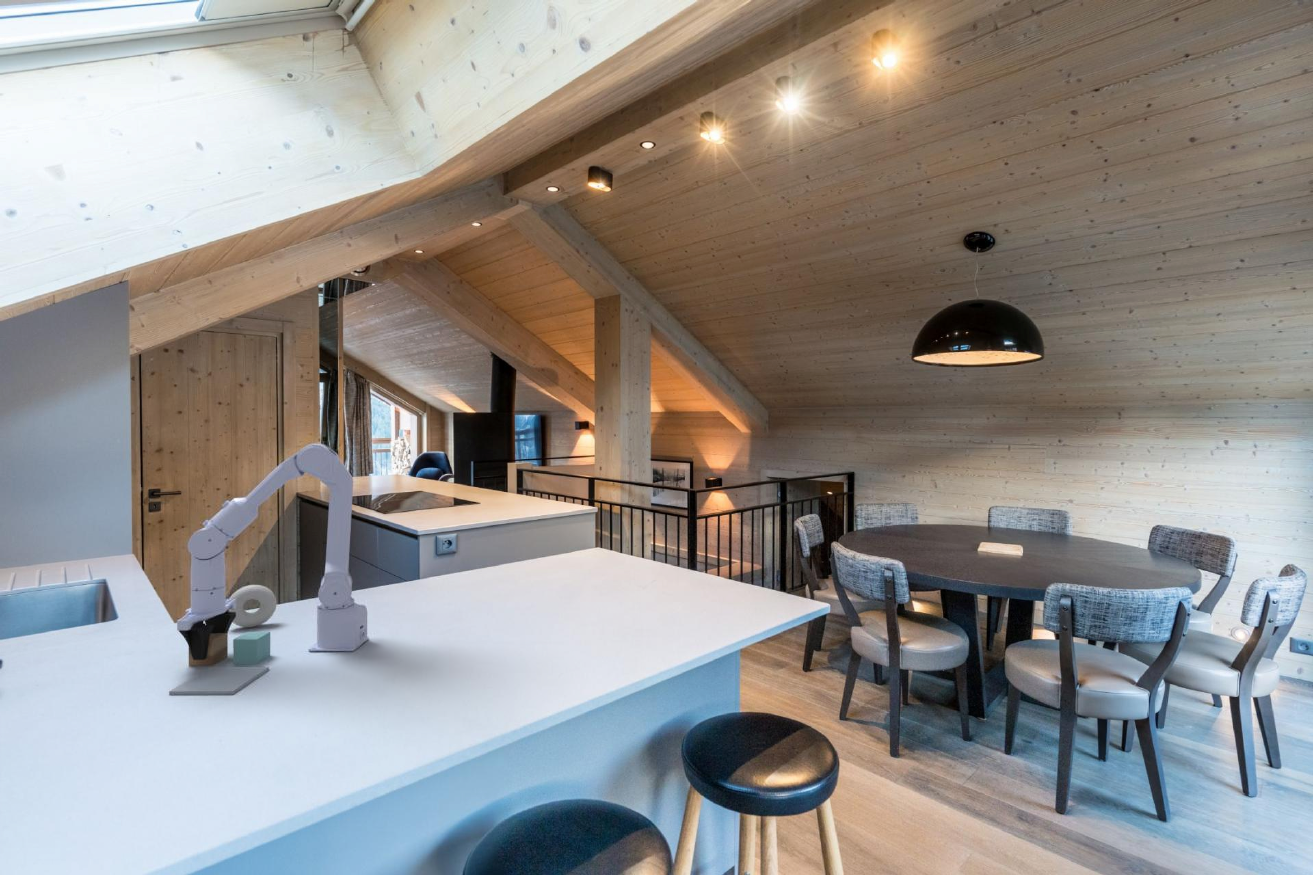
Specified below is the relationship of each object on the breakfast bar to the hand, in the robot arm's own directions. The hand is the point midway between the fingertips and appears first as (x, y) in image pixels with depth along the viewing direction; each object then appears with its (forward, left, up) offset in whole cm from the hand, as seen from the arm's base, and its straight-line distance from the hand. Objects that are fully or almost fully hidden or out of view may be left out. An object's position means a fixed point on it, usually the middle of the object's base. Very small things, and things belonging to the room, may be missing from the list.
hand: (208, 654), depth 125 cm
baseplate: (-9, +10, -1) cm, 14 cm away
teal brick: (-8, -1, -2) cm, 8 cm away
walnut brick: (0, 0, -1) cm, 1 cm away
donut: (+4, -21, -2) cm, 21 cm away
